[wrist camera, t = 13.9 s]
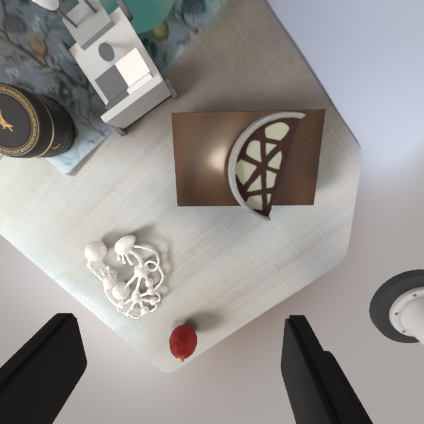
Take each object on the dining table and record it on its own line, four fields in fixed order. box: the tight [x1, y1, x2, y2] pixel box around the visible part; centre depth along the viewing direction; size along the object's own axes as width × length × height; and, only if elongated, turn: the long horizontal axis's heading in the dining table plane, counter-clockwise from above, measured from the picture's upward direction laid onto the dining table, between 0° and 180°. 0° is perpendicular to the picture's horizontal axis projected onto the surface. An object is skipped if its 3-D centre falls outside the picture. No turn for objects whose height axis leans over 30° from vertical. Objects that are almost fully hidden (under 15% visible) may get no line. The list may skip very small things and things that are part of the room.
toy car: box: [32, 0, 179, 136], centre depth 28 cm, size 18×10×12 cm
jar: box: [0, 83, 73, 158], centre depth 32 cm, size 10×10×8 cm
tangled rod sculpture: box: [84, 235, 164, 319], centre depth 41 cm, size 19×14×4 cm
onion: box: [169, 325, 197, 362], centre depth 43 cm, size 6×6×8 cm
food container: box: [228, 112, 305, 221], centre depth 26 cm, size 12×6×10 cm, turn 167°
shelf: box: [172, 109, 325, 206], centre depth 33 cm, size 22×14×6 cm, turn 91°
